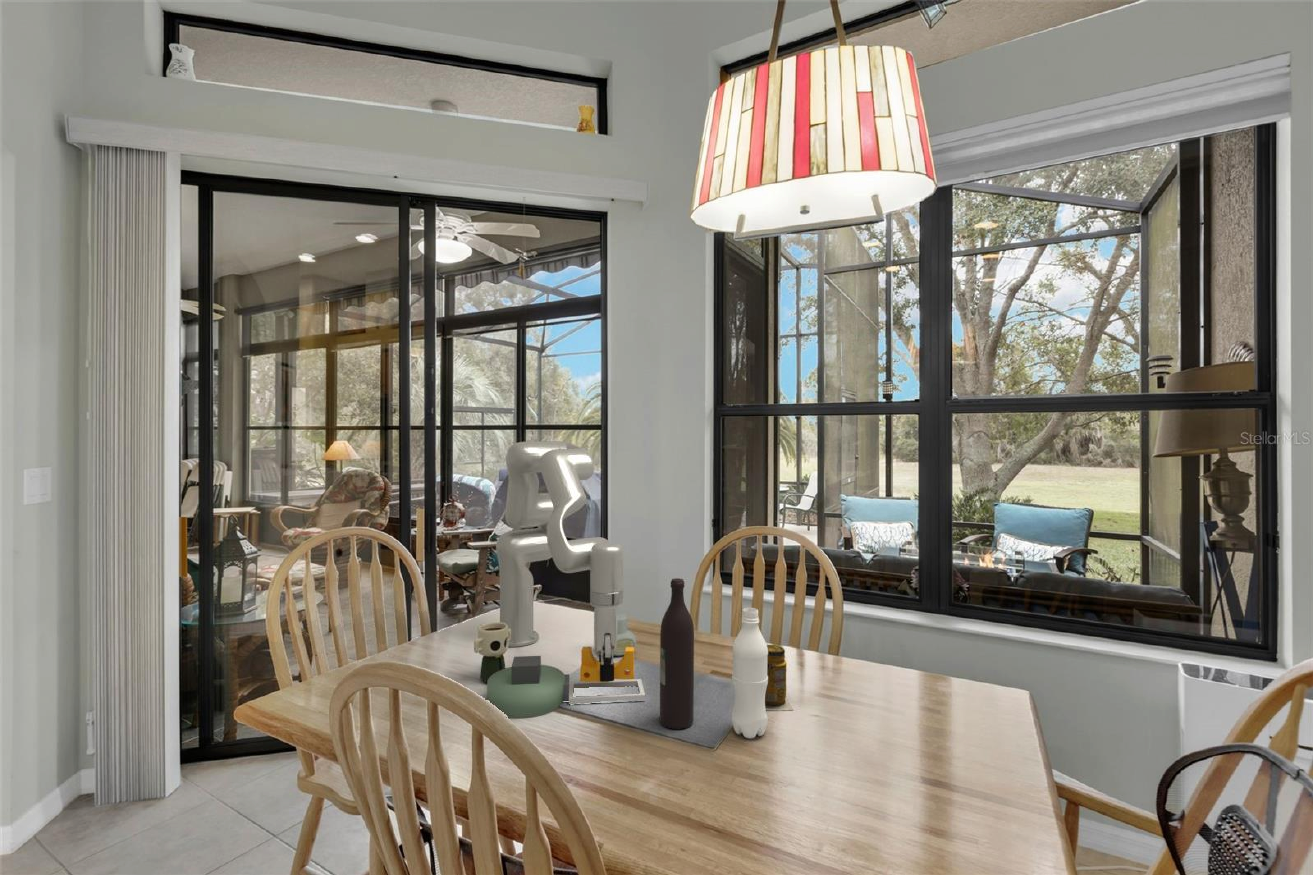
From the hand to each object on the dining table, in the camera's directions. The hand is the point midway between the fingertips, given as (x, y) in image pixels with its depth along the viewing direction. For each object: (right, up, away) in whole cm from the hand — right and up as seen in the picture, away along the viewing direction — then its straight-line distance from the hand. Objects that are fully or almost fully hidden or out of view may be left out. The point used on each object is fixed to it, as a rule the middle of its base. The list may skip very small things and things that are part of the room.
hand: (606, 675), depth 144 cm
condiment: (+38, -5, -3) cm, 38 cm away
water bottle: (+30, -5, -17) cm, 35 cm away
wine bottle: (+16, -5, -13) cm, 21 cm away
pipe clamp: (0, -1, 0) cm, 1 cm away
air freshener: (+1, -4, +27) cm, 28 cm away
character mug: (-28, -4, +9) cm, 30 cm away
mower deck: (-9, -4, -2) cm, 10 cm away
